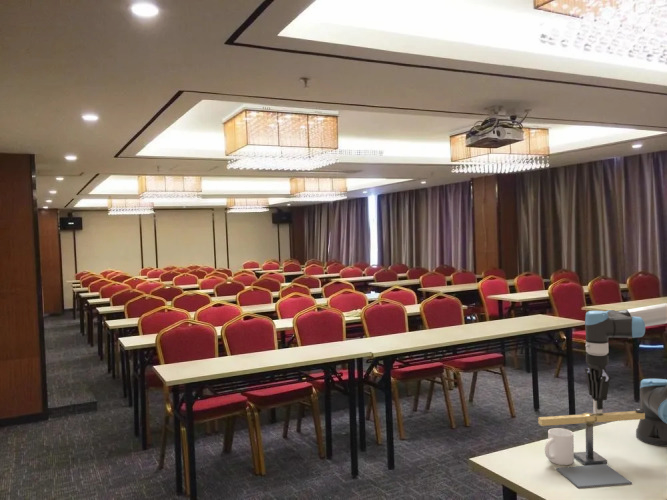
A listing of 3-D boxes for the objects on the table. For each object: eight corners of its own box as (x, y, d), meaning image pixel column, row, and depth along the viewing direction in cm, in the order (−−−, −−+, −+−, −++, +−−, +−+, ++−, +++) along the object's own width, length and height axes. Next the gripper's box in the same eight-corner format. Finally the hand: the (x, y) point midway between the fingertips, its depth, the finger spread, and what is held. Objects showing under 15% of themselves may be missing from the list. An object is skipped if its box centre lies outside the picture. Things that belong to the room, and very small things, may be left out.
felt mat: (606, 465, 190) (606, 464, 190) (631, 484, 176) (631, 482, 176) (556, 469, 188) (556, 467, 188) (578, 488, 174) (578, 486, 174)
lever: (639, 416, 198) (639, 407, 198) (647, 420, 194) (647, 411, 194) (537, 422, 195) (536, 413, 195) (543, 427, 190) (542, 417, 190)
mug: (555, 470, 188) (554, 440, 187) (536, 461, 195) (535, 432, 195) (579, 462, 193) (578, 433, 193) (559, 454, 201) (559, 426, 200)
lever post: (594, 455, 199) (593, 418, 199) (607, 464, 191) (606, 425, 191) (573, 456, 198) (572, 419, 198) (585, 466, 190) (584, 427, 190)
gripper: (577, 350, 208) (578, 412, 209) (597, 357, 195) (598, 423, 196) (596, 349, 209) (597, 410, 209) (617, 356, 196) (618, 422, 196)
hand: (598, 417), depth 203 cm, fingers closed
